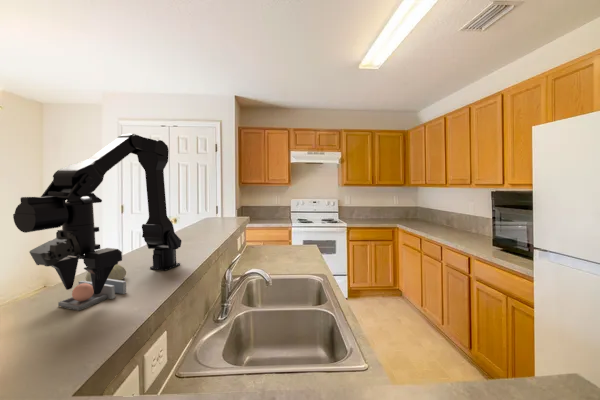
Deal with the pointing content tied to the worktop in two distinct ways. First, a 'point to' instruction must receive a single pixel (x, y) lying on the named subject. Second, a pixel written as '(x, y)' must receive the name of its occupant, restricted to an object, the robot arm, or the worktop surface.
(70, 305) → the coaster
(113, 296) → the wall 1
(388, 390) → the worktop surface
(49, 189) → the robot arm
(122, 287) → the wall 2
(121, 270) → the sea urchin shell
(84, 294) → the ball
